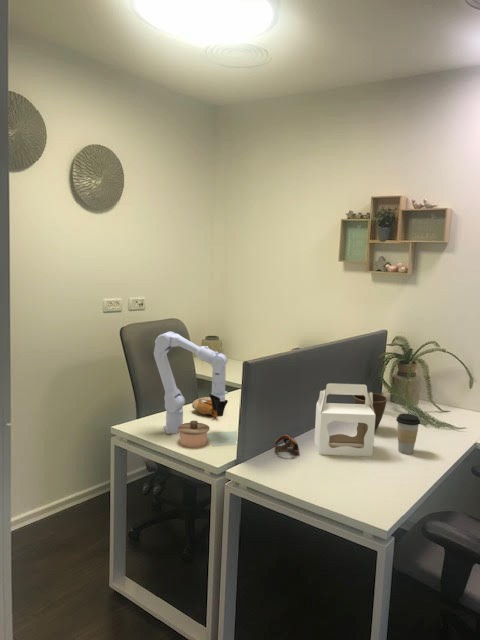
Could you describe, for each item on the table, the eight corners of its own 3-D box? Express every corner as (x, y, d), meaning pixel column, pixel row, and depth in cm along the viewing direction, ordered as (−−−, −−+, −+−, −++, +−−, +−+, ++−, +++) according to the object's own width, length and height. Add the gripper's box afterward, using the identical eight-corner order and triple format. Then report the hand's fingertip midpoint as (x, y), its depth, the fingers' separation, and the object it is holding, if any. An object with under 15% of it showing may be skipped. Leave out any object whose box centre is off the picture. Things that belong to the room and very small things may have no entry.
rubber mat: (204, 434, 221) (204, 433, 221) (237, 432, 226) (237, 430, 225) (213, 447, 207) (213, 446, 207) (247, 444, 211) (248, 443, 211)
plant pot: (391, 434, 230) (393, 400, 227) (363, 437, 224) (366, 402, 222) (371, 423, 243) (373, 391, 241) (345, 426, 238) (347, 393, 236)
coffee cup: (402, 456, 204) (405, 421, 202) (389, 447, 213) (392, 413, 211) (422, 455, 207) (425, 419, 205) (408, 446, 216) (411, 412, 214)
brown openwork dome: (301, 459, 199) (293, 443, 197) (279, 467, 201) (271, 451, 199) (300, 441, 210) (292, 425, 208) (279, 448, 213) (271, 433, 210)
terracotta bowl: (177, 439, 214) (177, 425, 214) (202, 437, 218) (203, 423, 217) (182, 449, 204) (183, 434, 203) (209, 446, 207) (209, 432, 207)
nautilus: (228, 422, 239) (197, 425, 236) (219, 406, 260) (190, 408, 256) (228, 407, 238) (197, 409, 234) (219, 391, 258) (190, 394, 254)
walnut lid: (175, 425, 214) (175, 417, 214) (205, 422, 218) (205, 415, 218) (181, 435, 202) (181, 428, 202) (212, 433, 206) (213, 425, 206)
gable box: (365, 444, 216) (369, 380, 213) (373, 456, 203) (378, 389, 200) (313, 442, 216) (317, 378, 213) (318, 454, 203) (322, 387, 200)
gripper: (232, 386, 211) (231, 417, 213) (223, 377, 225) (222, 407, 227) (216, 387, 209) (215, 418, 211) (207, 378, 223) (207, 408, 224)
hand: (217, 412), depth 219 cm, fingers open, 7 cm apart
